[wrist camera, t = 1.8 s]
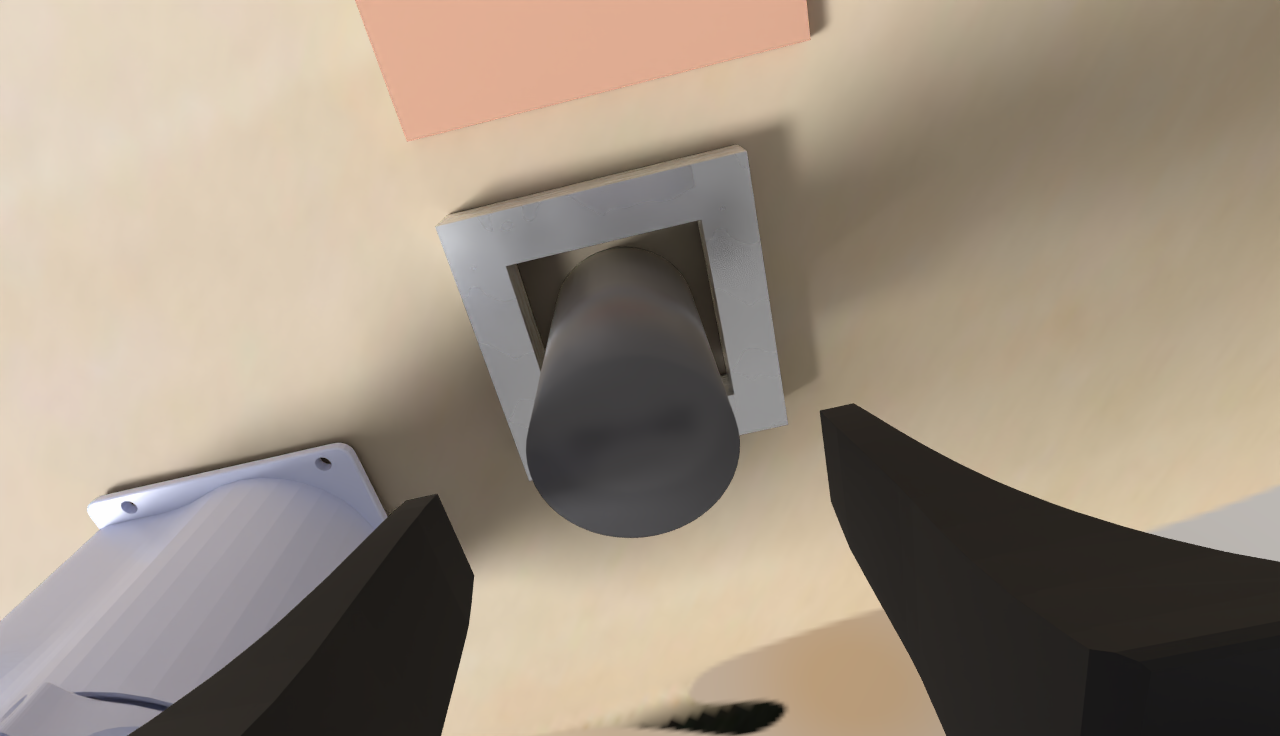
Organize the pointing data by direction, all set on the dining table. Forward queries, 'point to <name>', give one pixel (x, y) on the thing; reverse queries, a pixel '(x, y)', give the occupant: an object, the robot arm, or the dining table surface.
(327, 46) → the dining table surface
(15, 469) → the dining table surface
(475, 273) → the socket collar
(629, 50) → the tile
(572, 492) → the plug
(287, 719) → the robot arm
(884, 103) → the dining table surface
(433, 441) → the dining table surface
